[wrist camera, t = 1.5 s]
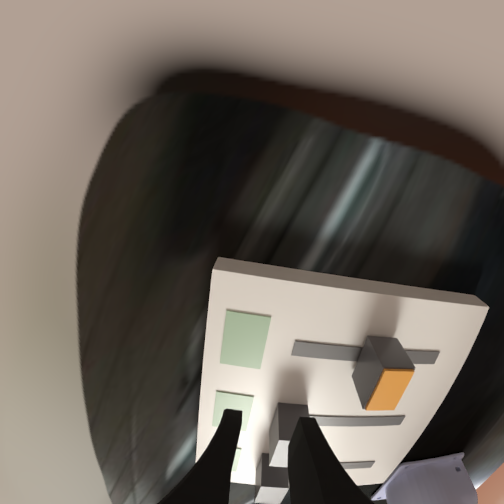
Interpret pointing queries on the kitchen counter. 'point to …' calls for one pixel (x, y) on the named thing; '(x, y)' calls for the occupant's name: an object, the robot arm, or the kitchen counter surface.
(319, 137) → the kitchen counter surface
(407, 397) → the breaker panel
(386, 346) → the handle
